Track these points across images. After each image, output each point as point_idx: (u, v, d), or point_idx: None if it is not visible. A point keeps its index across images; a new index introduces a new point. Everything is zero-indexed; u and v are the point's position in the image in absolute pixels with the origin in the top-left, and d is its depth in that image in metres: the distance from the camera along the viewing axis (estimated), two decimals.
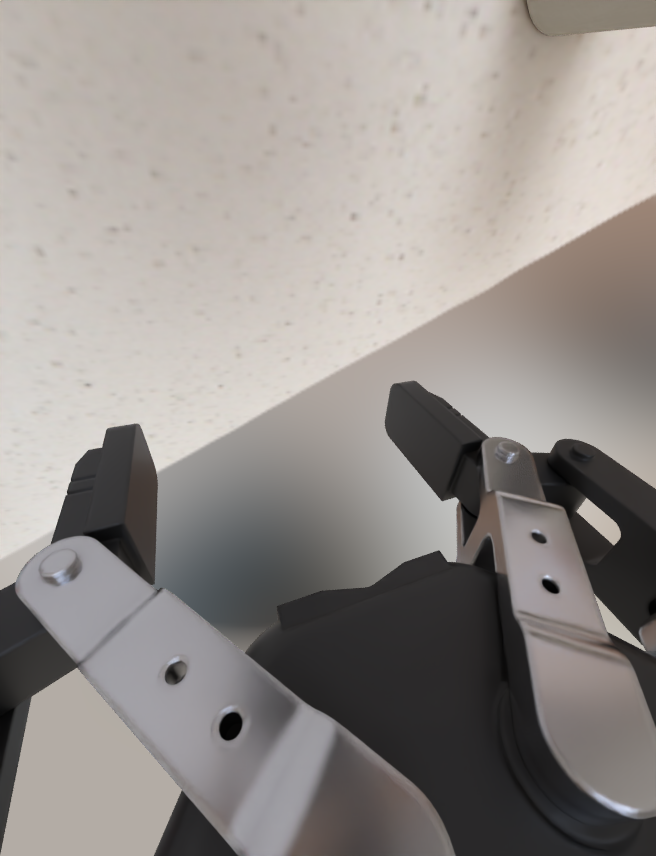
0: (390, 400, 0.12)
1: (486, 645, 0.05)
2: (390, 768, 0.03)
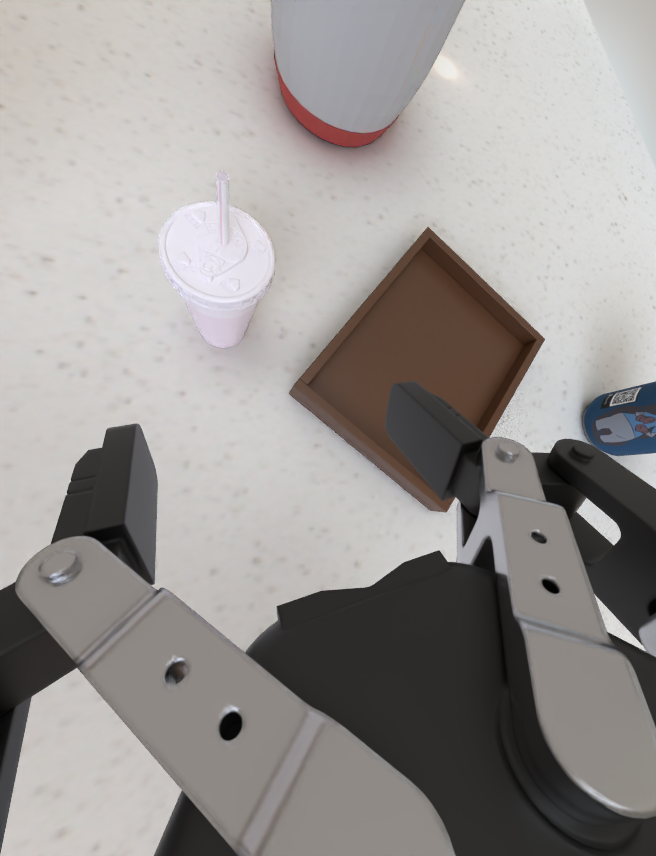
0: (390, 400, 0.12)
1: (486, 645, 0.05)
2: (391, 768, 0.03)
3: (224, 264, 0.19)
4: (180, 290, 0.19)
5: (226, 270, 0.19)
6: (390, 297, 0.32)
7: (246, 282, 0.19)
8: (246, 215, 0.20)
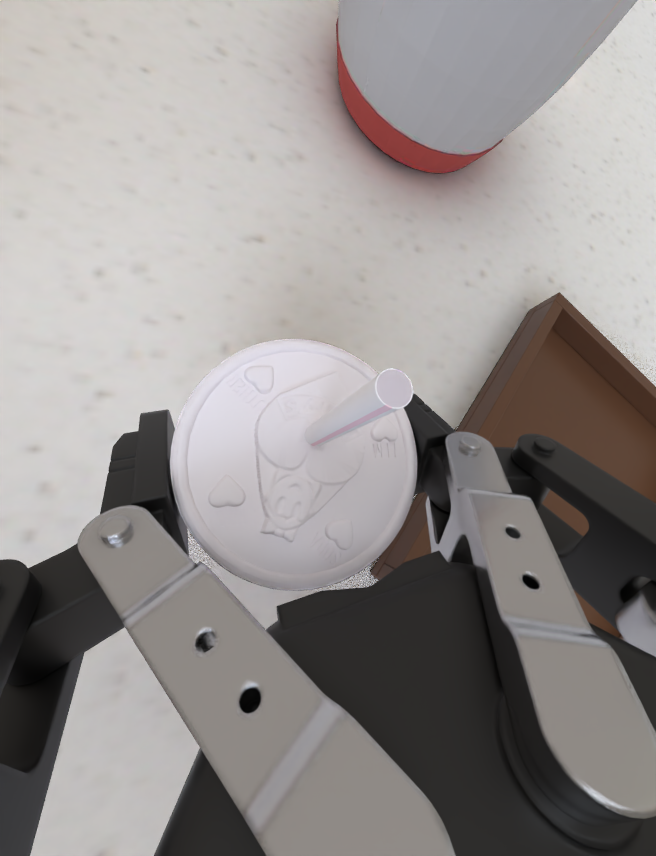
0: None
1: (486, 644, 0.05)
2: (401, 773, 0.03)
3: (320, 494, 0.08)
4: None
5: (323, 505, 0.08)
6: None
7: (365, 523, 0.09)
8: (355, 361, 0.09)
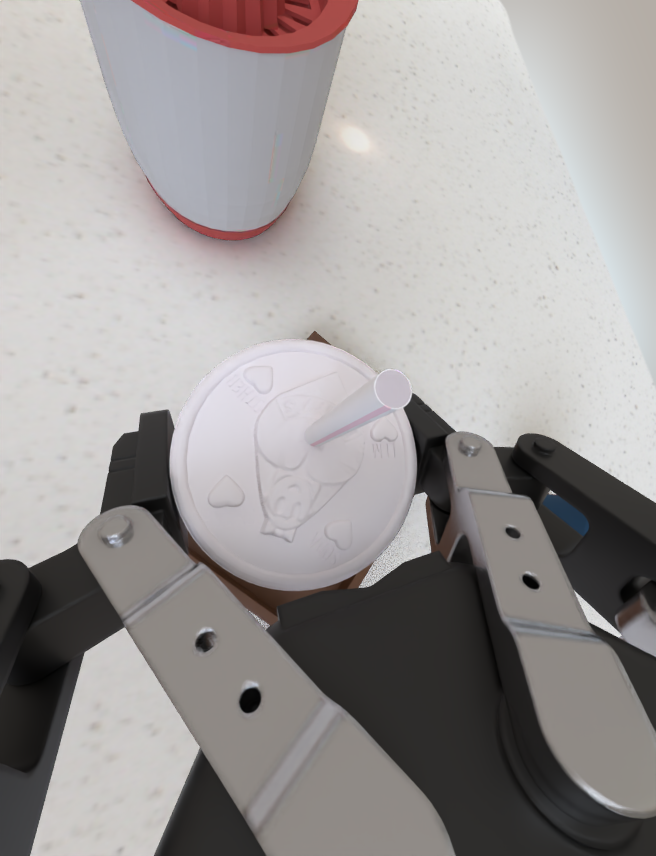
0: None
1: (486, 645, 0.05)
2: (402, 773, 0.03)
3: (319, 494, 0.08)
4: None
5: (323, 505, 0.08)
6: None
7: (364, 523, 0.09)
8: (355, 361, 0.09)
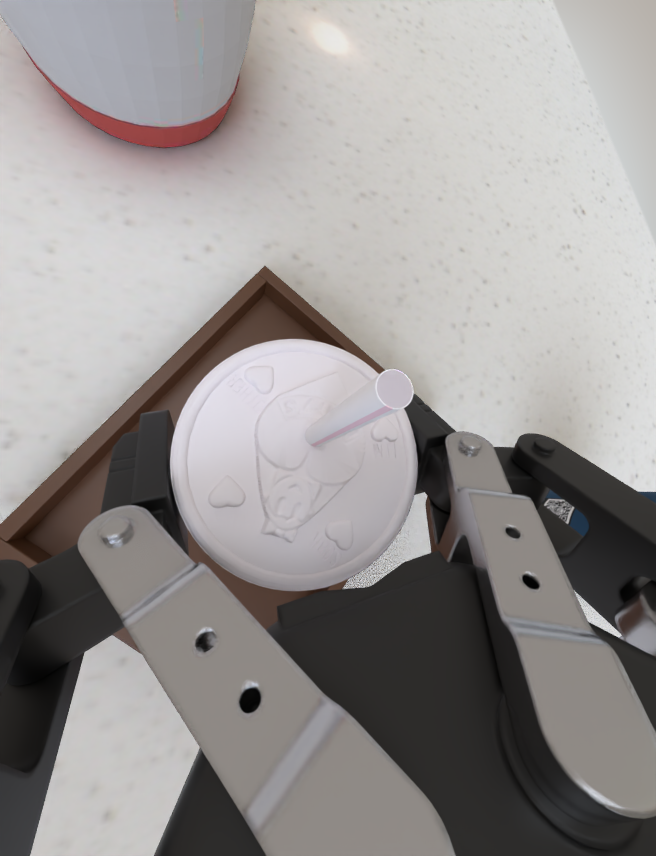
0: None
1: (486, 644, 0.05)
2: (401, 772, 0.03)
3: (320, 494, 0.08)
4: None
5: (324, 505, 0.08)
6: (204, 372, 0.22)
7: (365, 523, 0.09)
8: (355, 361, 0.09)
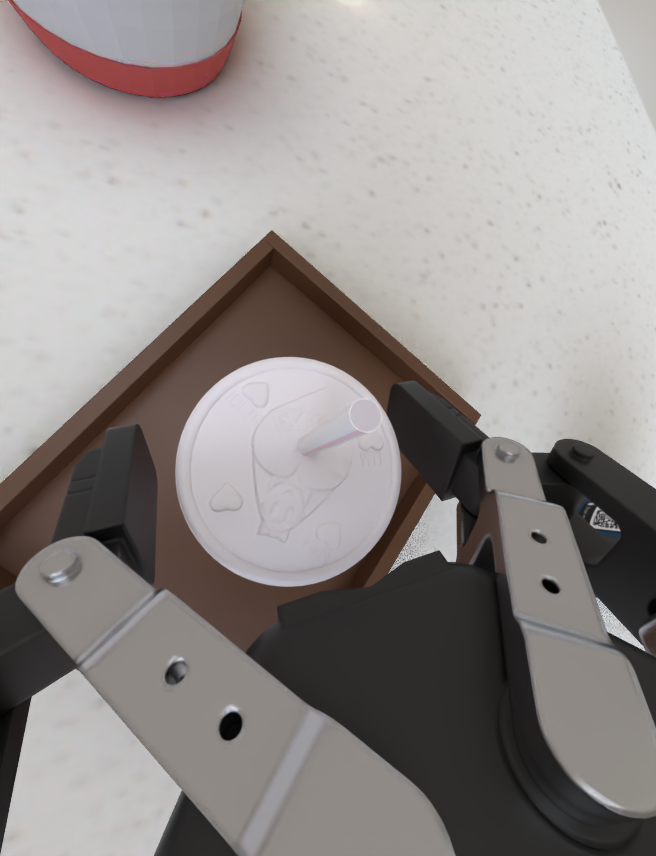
0: (390, 400, 0.12)
1: (486, 645, 0.05)
2: (391, 768, 0.03)
3: (311, 499, 0.09)
4: None
5: (314, 510, 0.09)
6: (200, 354, 0.19)
7: (352, 525, 0.09)
8: (344, 377, 0.10)
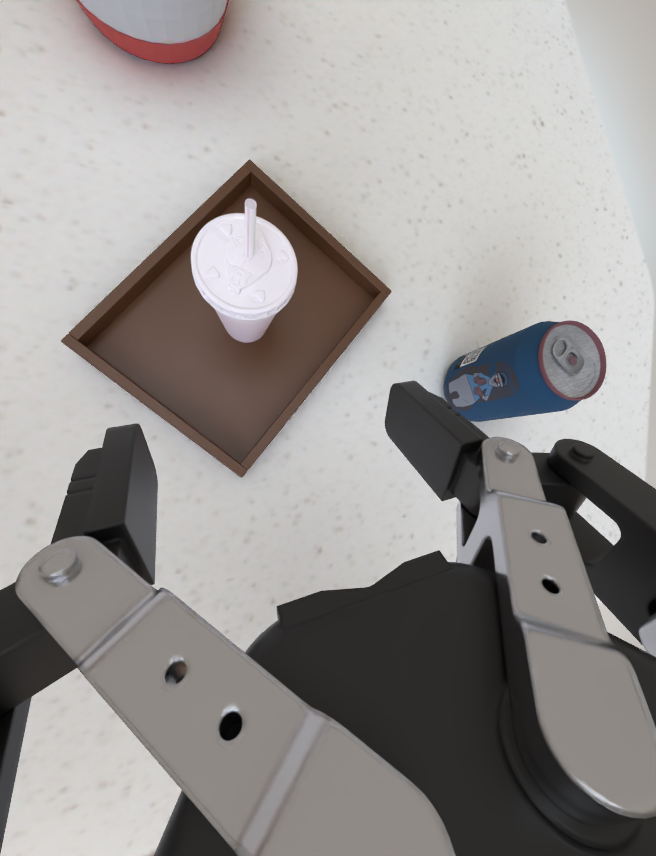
0: (390, 400, 0.12)
1: (486, 645, 0.05)
2: (391, 768, 0.03)
3: (250, 277, 0.20)
4: (211, 302, 0.20)
5: (252, 282, 0.20)
6: None
7: (271, 293, 0.21)
8: (270, 225, 0.21)
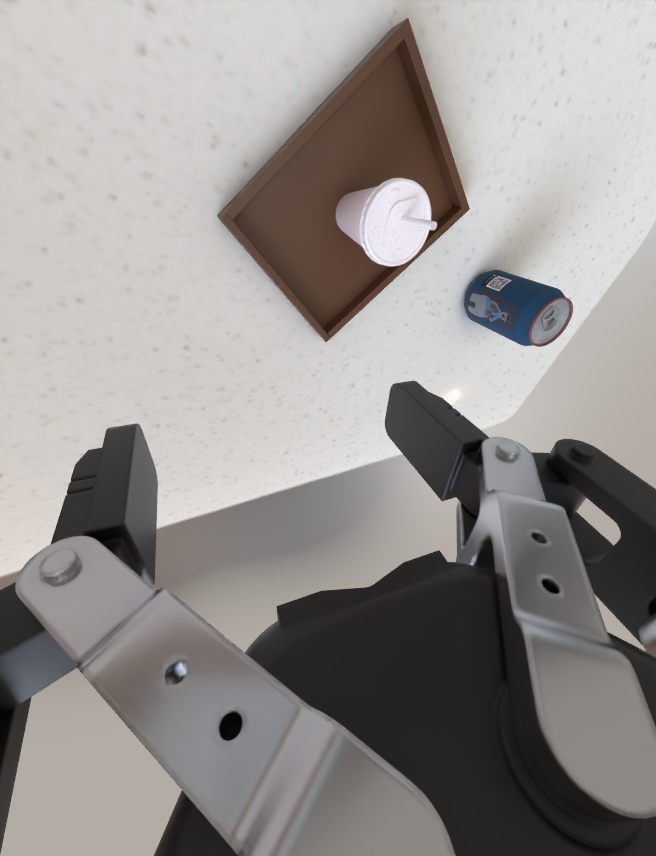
0: (390, 400, 0.12)
1: (486, 645, 0.05)
2: (391, 769, 0.03)
3: (398, 239, 0.29)
4: (366, 250, 0.29)
5: (398, 242, 0.29)
6: (337, 118, 0.30)
7: (406, 251, 0.30)
8: (424, 193, 0.27)
